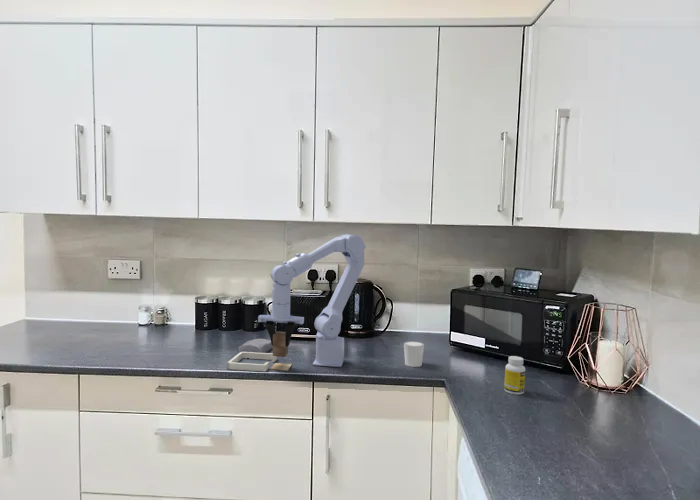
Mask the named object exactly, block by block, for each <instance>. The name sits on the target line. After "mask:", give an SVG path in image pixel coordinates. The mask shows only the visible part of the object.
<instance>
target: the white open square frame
mask: <svg viewBox="0 0 700 500" xmlns="http://www.w3.org/2000/svg"><path fill="white" fill-rule="evenodd" d="M247 358H249V360H250V359H251V360H263V361H264V360H268V361H266V362H264V363H263V364H262V363H250V362H249V363H248V362H240V361H241V360H242V359H247ZM277 359H278V357H277V356H273V352H272V353H271V352H266V353H255V352H240V353H239V352H238V353H237V354H236V355H234V357H232V358H231V359H230V360H228V361H227V362H226V370H233V371H234V370H235V371H236V370H237V371H249V372H264V373H265V372H267V371H268V370H269V369H270V367H269V366H270V362H269V361H271V363H276V361H277Z"/></svg>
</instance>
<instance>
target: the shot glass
mask: <svg viewBox="0 0 700 500" xmlns="http://www.w3.org/2000/svg"><path fill="white" fill-rule="evenodd" d="M403 350H404V351H403V352H404V365H405V366H407V367H412V368H414V367H415V368H418V367H419V368H420V367H421V366H422V365H423V359H424V358H423V357H424V350H425V343H422V342H420V341H405V342H403Z"/></svg>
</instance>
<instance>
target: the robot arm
mask: <svg viewBox="0 0 700 500" xmlns="http://www.w3.org/2000/svg"><path fill="white" fill-rule="evenodd" d="M366 247H367V246H366V245H365V243H364V240H363V238H362V237H361V236H360V235H358V234H348V233H342V234H340V235H339V236H336V237H334V238H332V239H330V240H329V241H327V242H325V243H324V244H322V245H320V246H319V247H318V248H316V249H314V250H311V251H310V252H309V253H304V252H302V253H299V252H298V253H296V254H295V256H294V257H293V258H290V259H289V260H288V261H287V260H284V261H283V262H282V264H279V265H276V266H274V267H273V269H272V270H271V273H270V278H271V280H272V294H271V295H272V297H271V298H272V299H271V300H272V305H271V314H260V315H258V317H257V323H265V326H264V327H265V329H266V330H267V333H268V335H269V338H270V339H269V340H271V344H272V345H273V334H274V333H275V332H277V323H280V324H283V323H284V324H285V326H284V328H285V332H286V346H288V347H289V346H290V343H291V339H292V335H293V333H294V330H295V328H296V326H297V324H299V325H303V324H304V323H305V317H304V316H295V315H291V283H292V281H293V280H294V279H295V278H296V277H298V276H301V275H302V274H304V273H306V272H307V271H309V270H310V269H312V267H313V263H315V262H317V261H319V260H321V259H324V258H326V256H328V255H331V254H332V253H333V254H334V253H341V254H342V255H343V256H344V259H345V261H346V266H345V268H344V271H343V272H342V274H341V277H340V279H339V280H338V282H337V286H336V287H335V290H334V292H333V294H332V296H331V298H330V300H329V302H328V304H327V306H325V307H324V308H323V309H322V311H321V312H320V314H319V315H317V316H316V318H314V319H315V320H314V323H313V324H314V328H315V330H316V331H317V333H316V337H315V359H314V361H313V363H312V365H313V366H323V367H336V368H337V367H339V368H341V367H342V365H343V363H344V361H345V338H344V337H343V336H342V337H341V336H339V334H340V332H341V329H342V328H341V325H342V322H343V311H344V309H345V307H346V305H347V302H348V300H349V298H350V297H351V295H352V291H353V290H354V287H355V285H356V283H357V281H358V279H359V277H360V276H361V273H362V271H363V268H364V266H365V249H366Z"/></svg>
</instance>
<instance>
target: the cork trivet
mask: <svg viewBox="0 0 700 500" xmlns="http://www.w3.org/2000/svg"><path fill="white" fill-rule="evenodd" d="M292 366H293V364H292V363H282V362H281V363H279V362H274V364H272V365H271V367H269V369H270V370H269V371H287V372H288V371H289V370H290V368H291V367H292Z"/></svg>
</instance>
